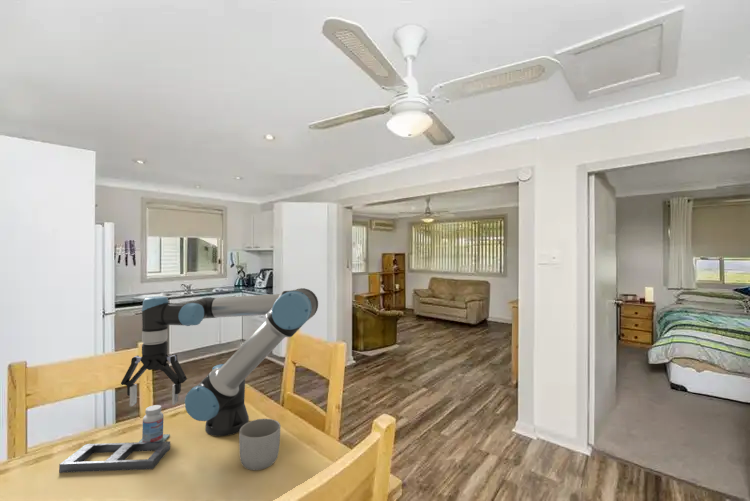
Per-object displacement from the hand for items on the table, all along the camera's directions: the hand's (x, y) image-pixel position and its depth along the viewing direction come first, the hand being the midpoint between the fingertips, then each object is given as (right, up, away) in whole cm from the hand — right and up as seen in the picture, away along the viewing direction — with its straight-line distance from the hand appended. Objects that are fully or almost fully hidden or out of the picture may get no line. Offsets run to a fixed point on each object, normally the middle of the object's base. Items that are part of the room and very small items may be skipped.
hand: (154, 403), depth 120 cm
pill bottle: (0, -13, 0) cm, 13 cm away
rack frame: (-5, -13, -11) cm, 17 cm away
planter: (+40, -14, -10) cm, 43 cm away
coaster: (-1, -13, 0) cm, 13 cm away
